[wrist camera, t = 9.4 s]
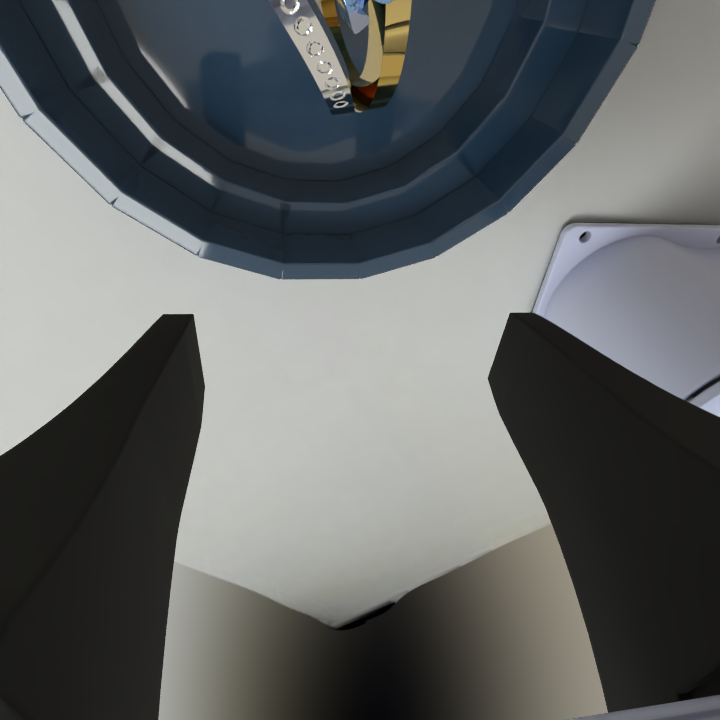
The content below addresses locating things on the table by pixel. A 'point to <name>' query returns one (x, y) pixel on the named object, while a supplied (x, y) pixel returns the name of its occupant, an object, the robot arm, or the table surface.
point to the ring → (329, 53)
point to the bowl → (311, 121)
